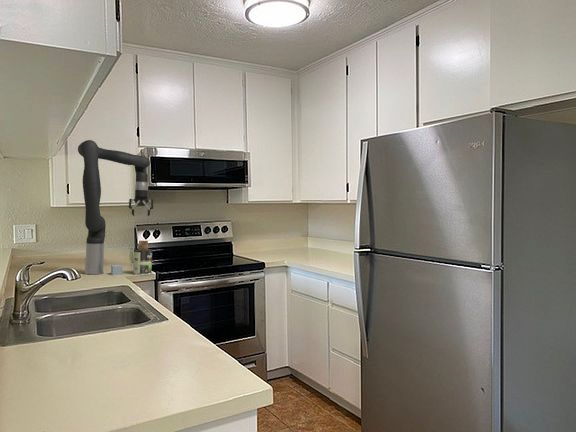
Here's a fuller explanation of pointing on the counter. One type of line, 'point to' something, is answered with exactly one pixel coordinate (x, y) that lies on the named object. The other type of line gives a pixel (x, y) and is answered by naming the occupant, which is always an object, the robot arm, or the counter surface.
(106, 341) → the counter surface
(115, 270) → the slate-blue block
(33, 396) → the counter surface
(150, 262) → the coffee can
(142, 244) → the walnut block
